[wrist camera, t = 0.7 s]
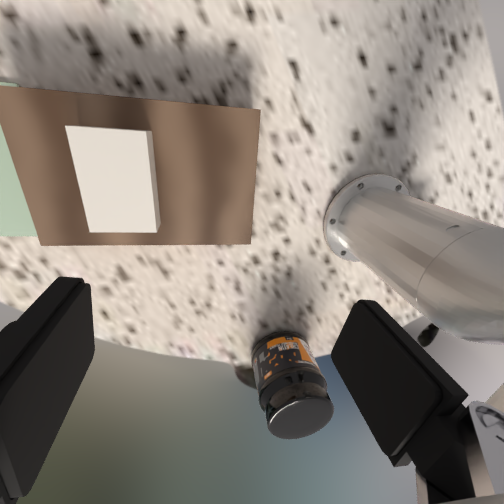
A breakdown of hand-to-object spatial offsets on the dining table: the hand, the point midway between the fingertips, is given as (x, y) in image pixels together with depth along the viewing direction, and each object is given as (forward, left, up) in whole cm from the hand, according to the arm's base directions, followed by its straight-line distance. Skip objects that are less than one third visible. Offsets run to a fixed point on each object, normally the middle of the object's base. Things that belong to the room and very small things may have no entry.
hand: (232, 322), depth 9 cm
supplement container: (-12, +29, -24) cm, 39 cm away
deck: (+7, -1, -24) cm, 25 cm away
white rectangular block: (+9, -1, -18) cm, 20 cm away
